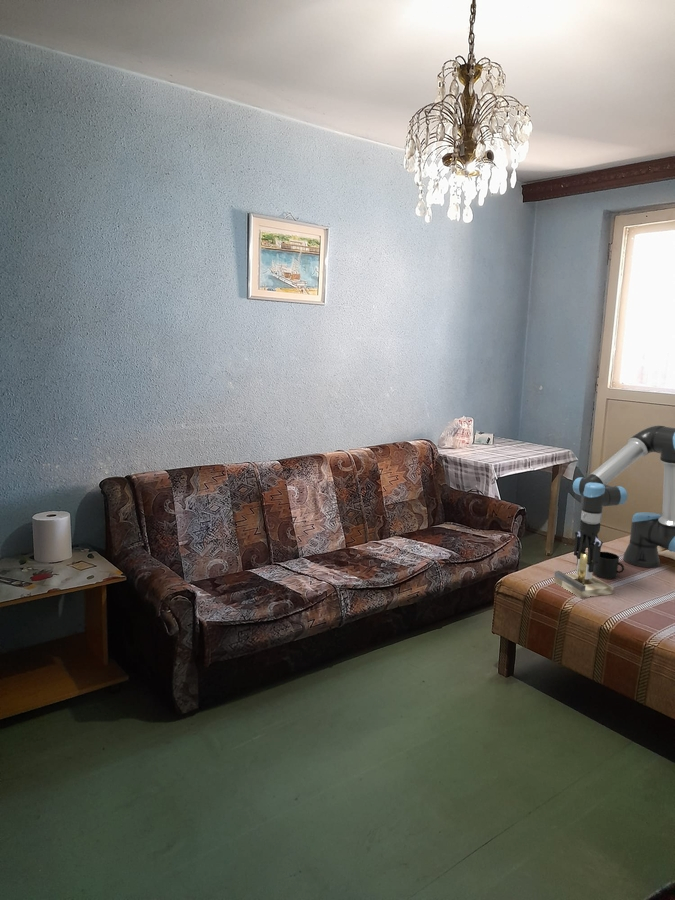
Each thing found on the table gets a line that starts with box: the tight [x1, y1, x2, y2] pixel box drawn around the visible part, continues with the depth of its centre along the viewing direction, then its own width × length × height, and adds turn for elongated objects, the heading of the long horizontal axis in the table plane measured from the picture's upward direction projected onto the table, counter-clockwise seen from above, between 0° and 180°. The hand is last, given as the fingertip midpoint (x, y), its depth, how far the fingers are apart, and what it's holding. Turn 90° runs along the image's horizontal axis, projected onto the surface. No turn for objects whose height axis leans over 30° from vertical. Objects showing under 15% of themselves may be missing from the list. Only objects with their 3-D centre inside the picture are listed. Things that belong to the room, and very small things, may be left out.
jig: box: [553, 570, 614, 599], centre depth 259 cm, size 16×16×5 cm
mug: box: [592, 551, 625, 580], centre depth 273 cm, size 9×12×9 cm
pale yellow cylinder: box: [577, 551, 589, 584], centre depth 258 cm, size 4×4×12 cm
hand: (583, 576), depth 259 cm, fingers closed on pale yellow cylinder, 4 cm apart
